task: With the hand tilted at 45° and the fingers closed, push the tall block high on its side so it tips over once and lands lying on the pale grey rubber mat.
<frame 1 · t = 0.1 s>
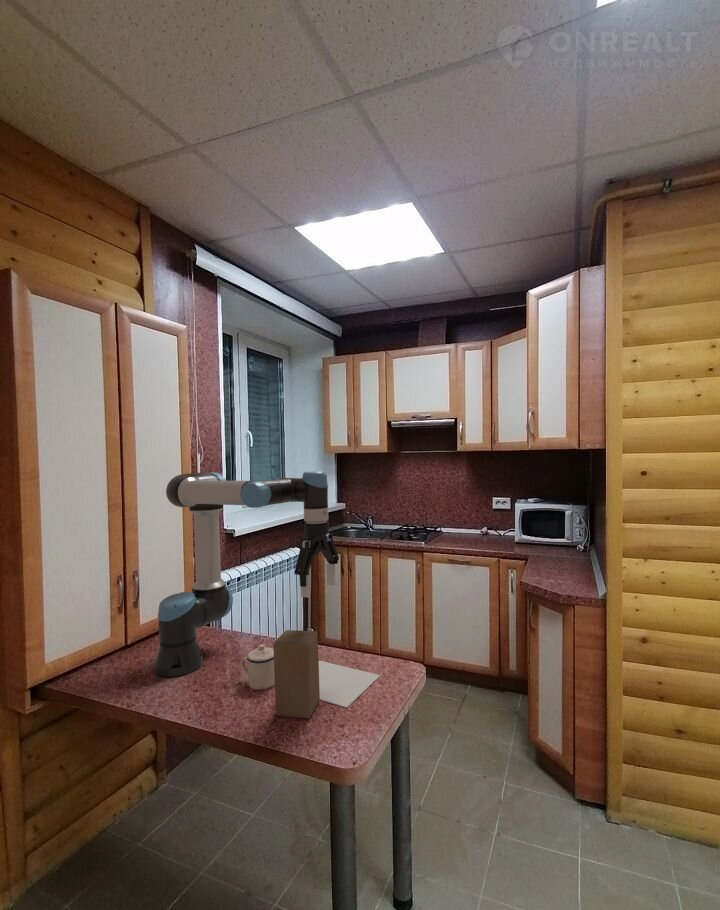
hand: (318, 590, 141), 28 cm above the table, tool pointing down, fingers open, 13 cm apart
teacup with lid: (259, 683, 142), on the table
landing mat: (330, 682, 140), on the table
block: (298, 709, 126), on the table
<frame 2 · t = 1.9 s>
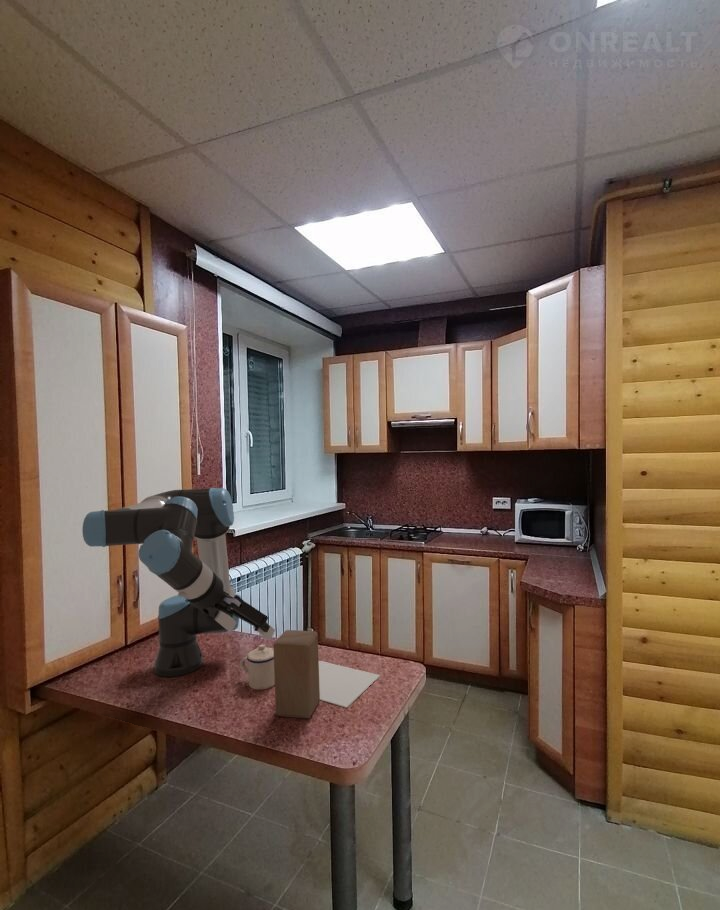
hand: (251, 631, 112), 27 cm above the table, tool tilted 45°, fingers open, 12 cm apart
nothing on the table moved.
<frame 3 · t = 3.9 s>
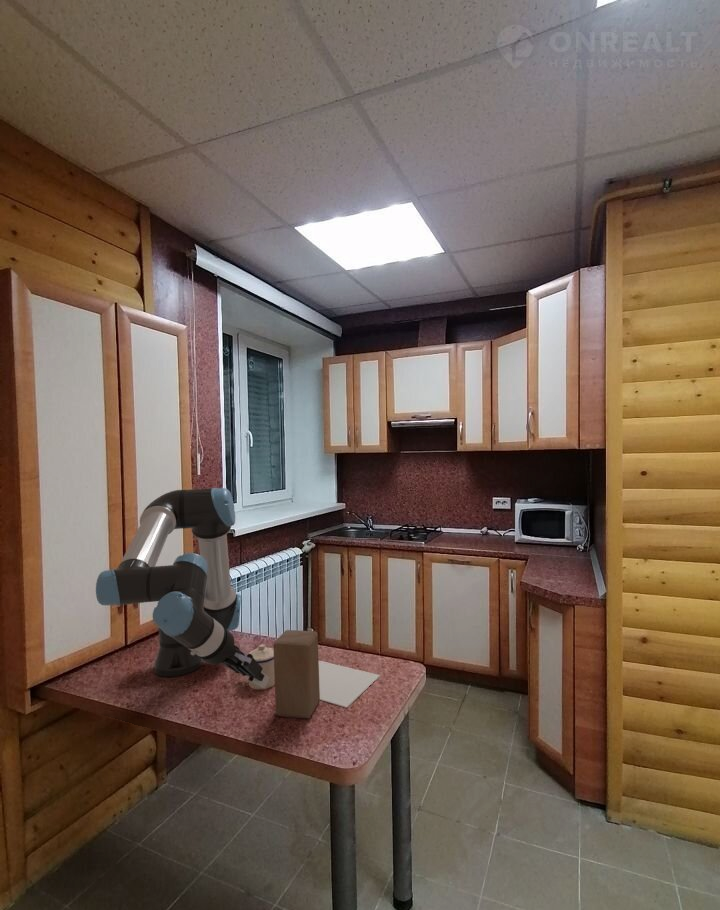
hand: (264, 682, 115), 13 cm above the table, tool tilted 45°, fingers closed
nothing on the table moved.
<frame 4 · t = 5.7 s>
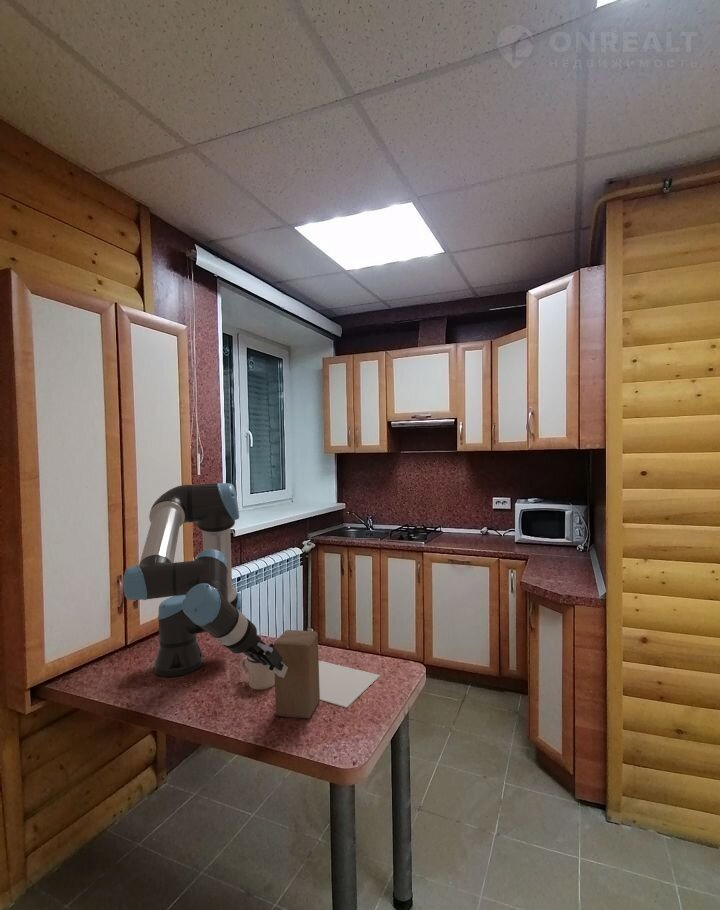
hand: (283, 672, 120), 13 cm above the table, tool tilted 45°, fingers closed
block: (298, 709, 126), on the table, touching gripper
everything else where it was.
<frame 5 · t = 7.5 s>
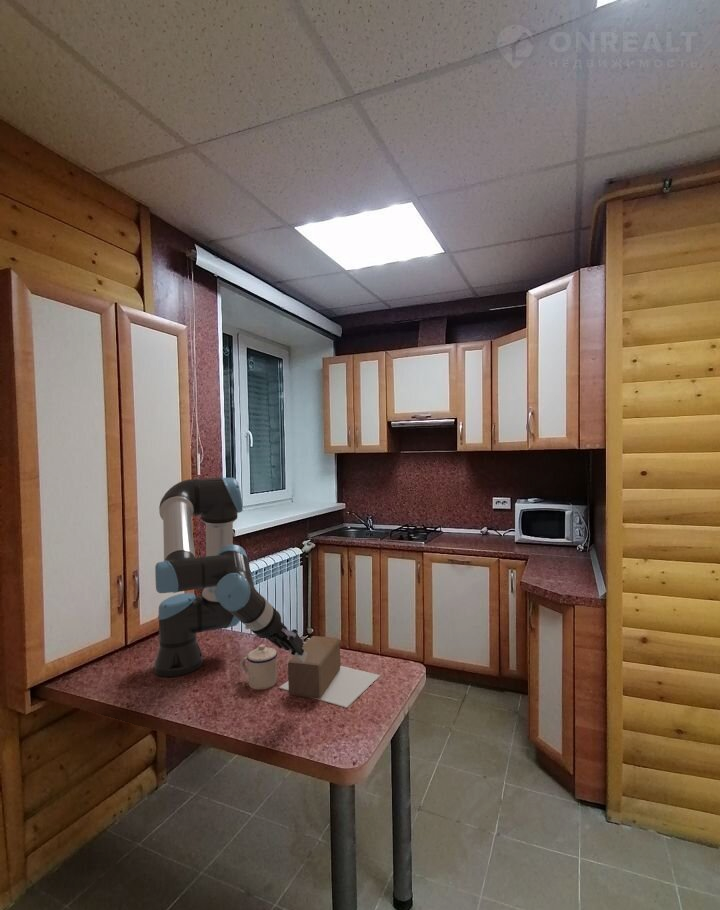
hand: (303, 657, 129), 13 cm above the table, tool tilted 45°, fingers closed
block: (302, 680, 131), point 5 cm above the table, touching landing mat
everything else where it was.
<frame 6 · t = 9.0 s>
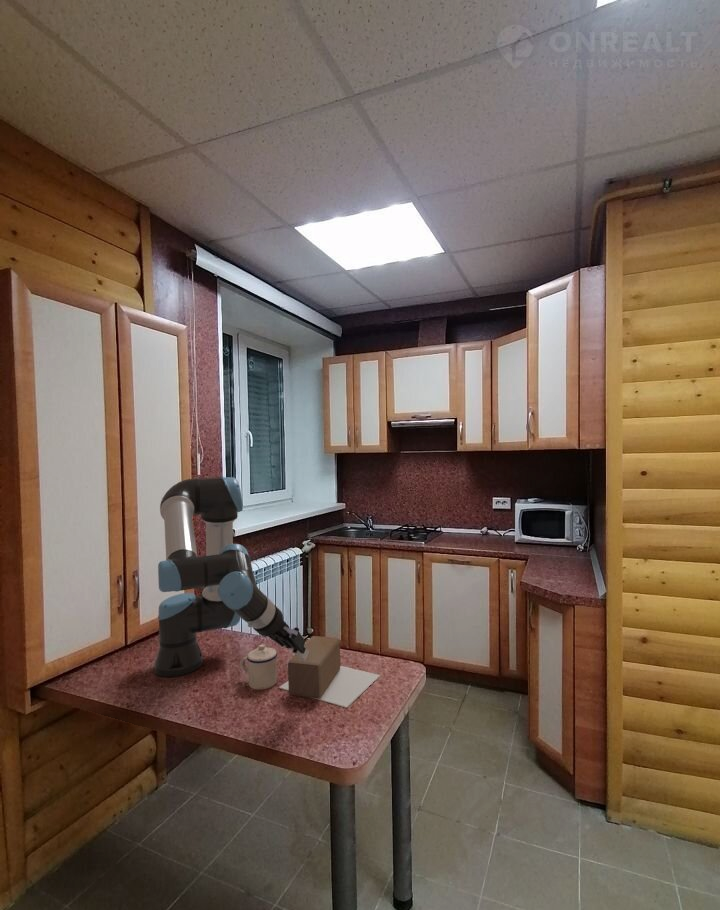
hand: (305, 655, 130), 13 cm above the table, tool tilted 45°, fingers closed
nothing on the table moved.
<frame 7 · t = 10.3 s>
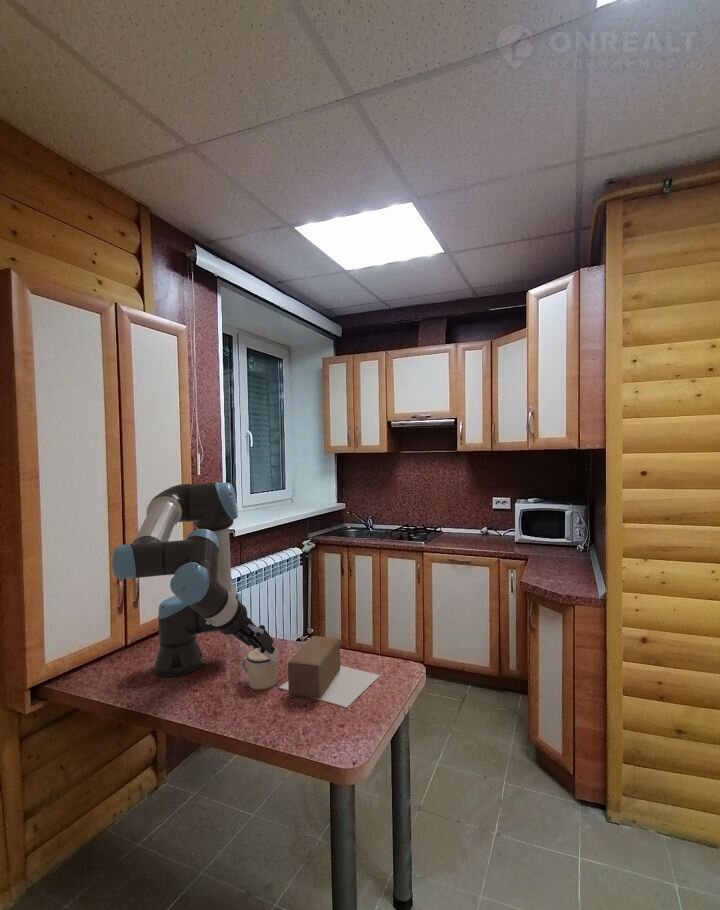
hand: (275, 655, 119), 18 cm above the table, tool tilted 45°, fingers closed
nothing on the table moved.
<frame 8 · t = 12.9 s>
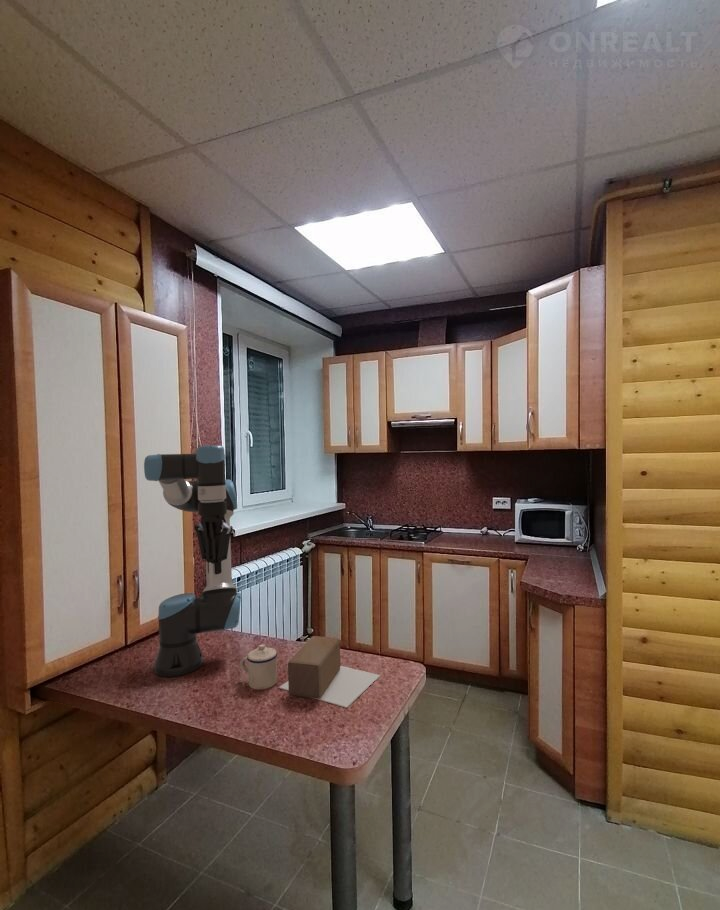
hand: (215, 585, 128), 34 cm above the table, tool pointing down, fingers closed
nothing on the table moved.
at the end: block tilted 90°; block inside the target area (3.2 cm from its centre), point 5.3 cm above the table; block touching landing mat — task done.
